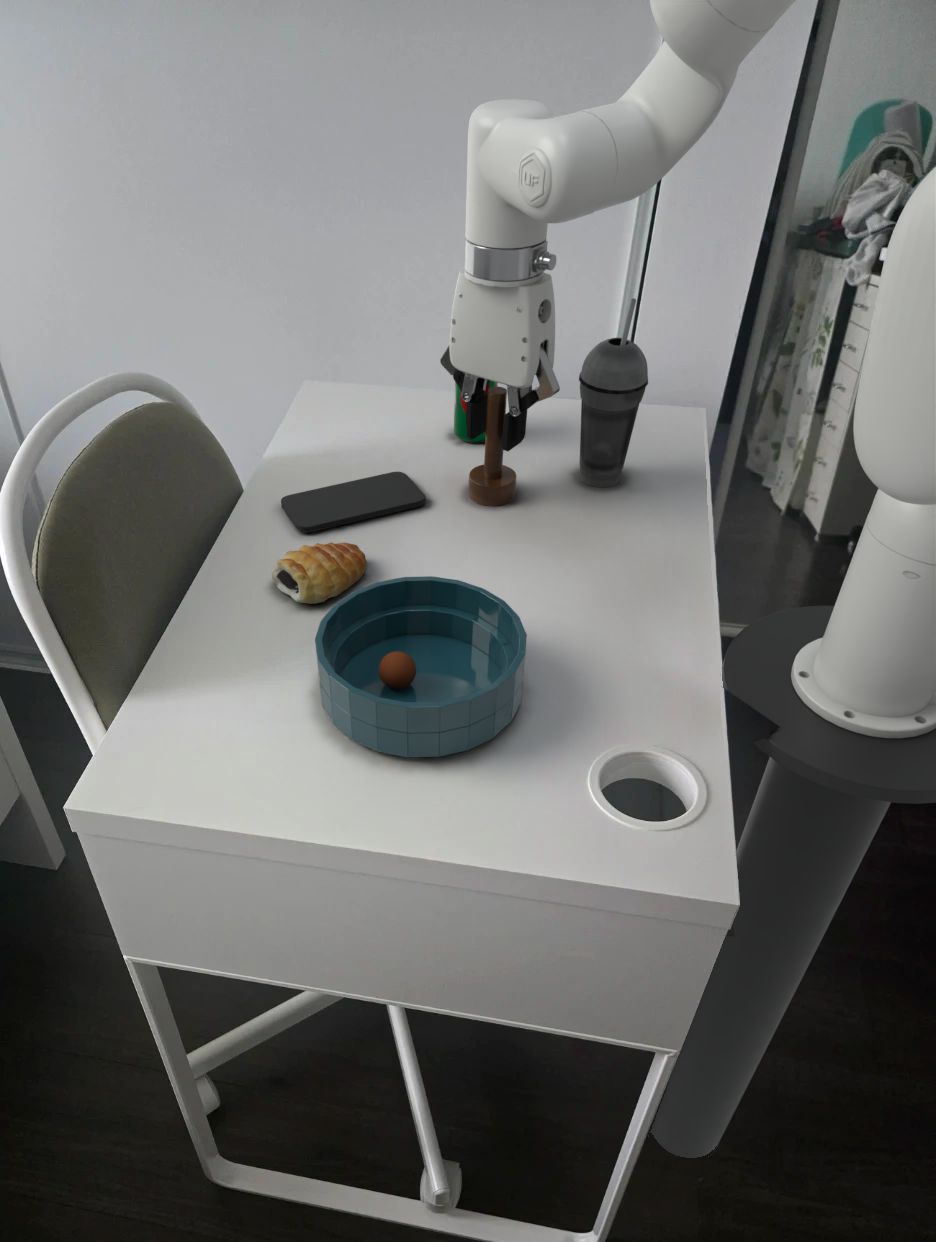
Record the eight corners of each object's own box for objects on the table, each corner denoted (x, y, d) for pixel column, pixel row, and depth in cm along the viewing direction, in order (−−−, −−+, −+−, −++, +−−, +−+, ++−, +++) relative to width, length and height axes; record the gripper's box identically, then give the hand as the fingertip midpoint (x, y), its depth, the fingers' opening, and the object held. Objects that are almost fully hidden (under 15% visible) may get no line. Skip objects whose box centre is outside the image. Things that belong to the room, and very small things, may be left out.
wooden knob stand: (516, 483, 107) (523, 380, 99) (514, 507, 103) (521, 402, 95) (470, 481, 107) (474, 378, 99) (466, 505, 104) (470, 400, 95)
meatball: (418, 673, 82) (418, 645, 80) (413, 698, 80) (413, 669, 77) (382, 671, 82) (380, 642, 80) (376, 695, 80) (375, 666, 78)
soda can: (470, 422, 118) (474, 325, 110) (503, 433, 116) (509, 335, 108) (445, 436, 116) (446, 338, 107) (478, 449, 113) (482, 349, 105)
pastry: (341, 549, 98) (339, 517, 95) (383, 577, 94) (382, 545, 91) (267, 584, 93) (262, 552, 91) (307, 615, 89) (304, 582, 87)
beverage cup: (600, 455, 111) (625, 278, 97) (645, 480, 107) (678, 298, 93) (554, 474, 108) (572, 293, 95) (598, 500, 104) (624, 314, 90)
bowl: (524, 636, 86) (529, 582, 82) (516, 772, 74) (522, 716, 70) (340, 623, 88) (336, 570, 84) (302, 754, 76) (295, 698, 72)
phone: (429, 499, 103) (299, 529, 99) (429, 505, 104) (300, 536, 99) (402, 469, 108) (277, 496, 104) (402, 476, 109) (278, 503, 104)
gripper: (603, 263, 87) (580, 448, 99) (454, 232, 94) (451, 407, 107) (561, 287, 82) (543, 476, 95) (409, 252, 90) (411, 432, 102)
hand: (494, 438), depth 101 cm, fingers open, 3 cm apart
